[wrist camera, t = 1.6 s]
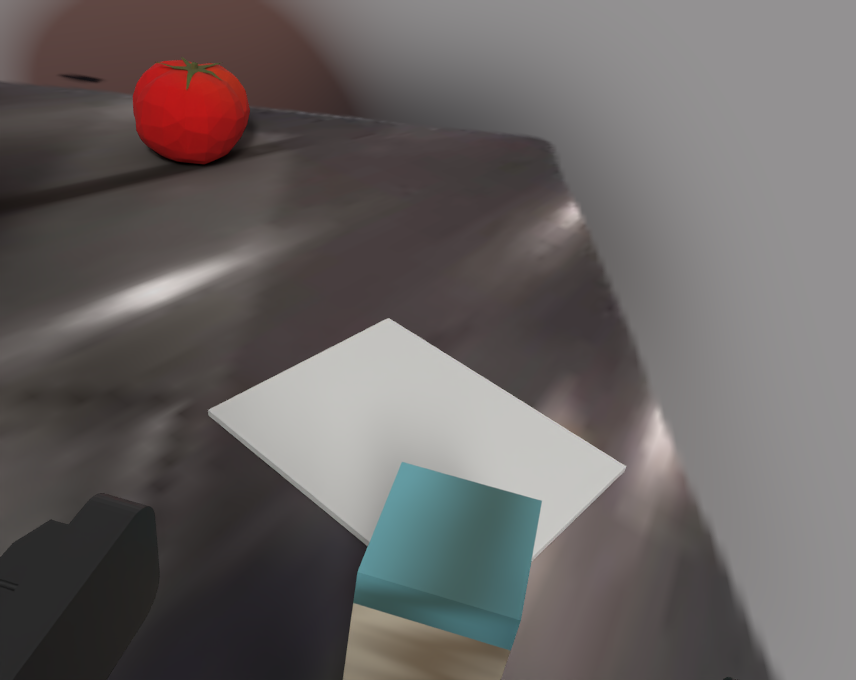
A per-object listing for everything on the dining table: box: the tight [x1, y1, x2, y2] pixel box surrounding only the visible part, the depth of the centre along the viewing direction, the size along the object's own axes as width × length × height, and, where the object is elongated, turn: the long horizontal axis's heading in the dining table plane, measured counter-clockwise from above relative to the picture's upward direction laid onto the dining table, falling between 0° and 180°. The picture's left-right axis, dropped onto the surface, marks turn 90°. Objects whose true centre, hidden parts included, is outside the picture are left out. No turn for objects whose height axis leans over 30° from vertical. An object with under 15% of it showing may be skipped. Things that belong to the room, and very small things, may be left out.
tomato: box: [133, 58, 250, 164], centre depth 71 cm, size 9×10×8 cm
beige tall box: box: [343, 462, 542, 680], centre depth 29 cm, size 5×5×12 cm
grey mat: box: [208, 318, 626, 562], centre depth 47 cm, size 19×15×1 cm
